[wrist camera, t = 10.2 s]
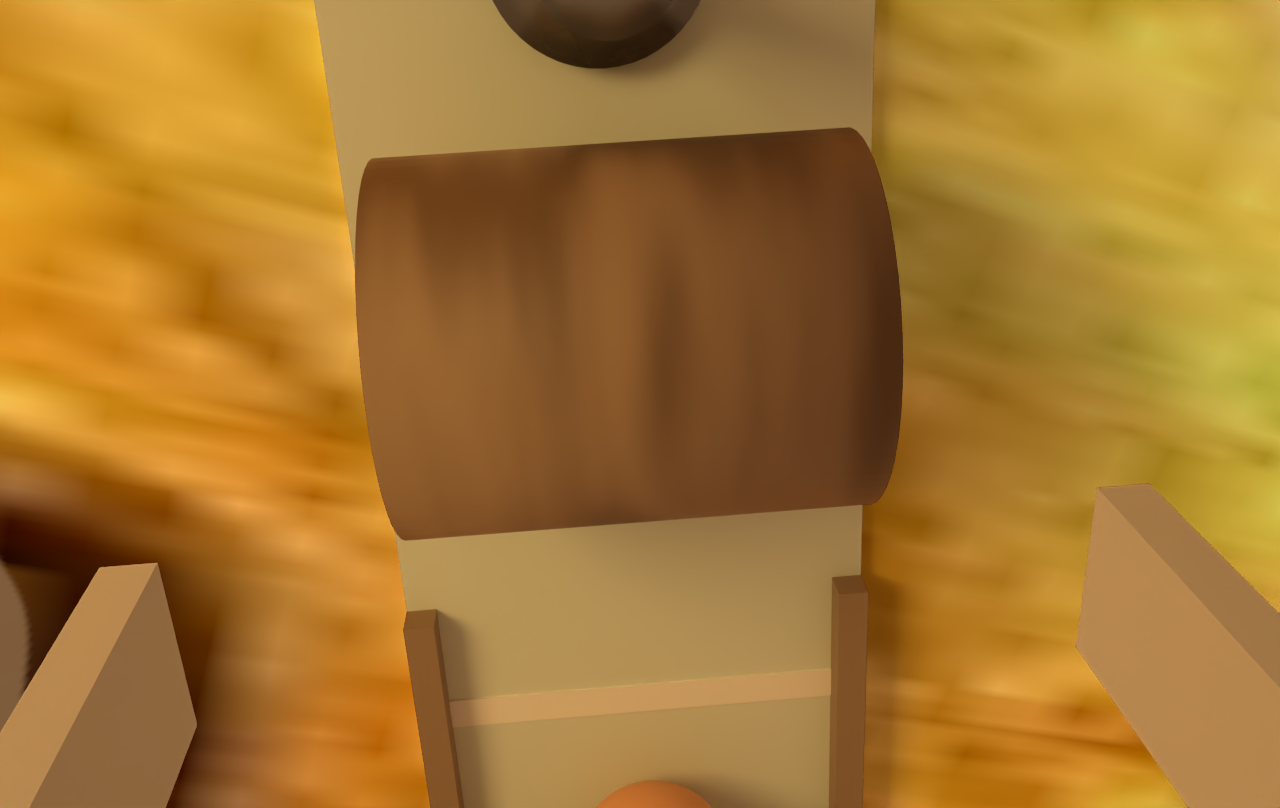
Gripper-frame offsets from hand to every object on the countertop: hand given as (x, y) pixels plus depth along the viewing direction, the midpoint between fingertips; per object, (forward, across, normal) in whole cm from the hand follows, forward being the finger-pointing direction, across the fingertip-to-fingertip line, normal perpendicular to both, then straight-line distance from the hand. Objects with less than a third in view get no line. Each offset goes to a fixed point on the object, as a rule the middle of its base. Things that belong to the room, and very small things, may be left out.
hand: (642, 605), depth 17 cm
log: (+17, +1, -1) cm, 18 cm away
